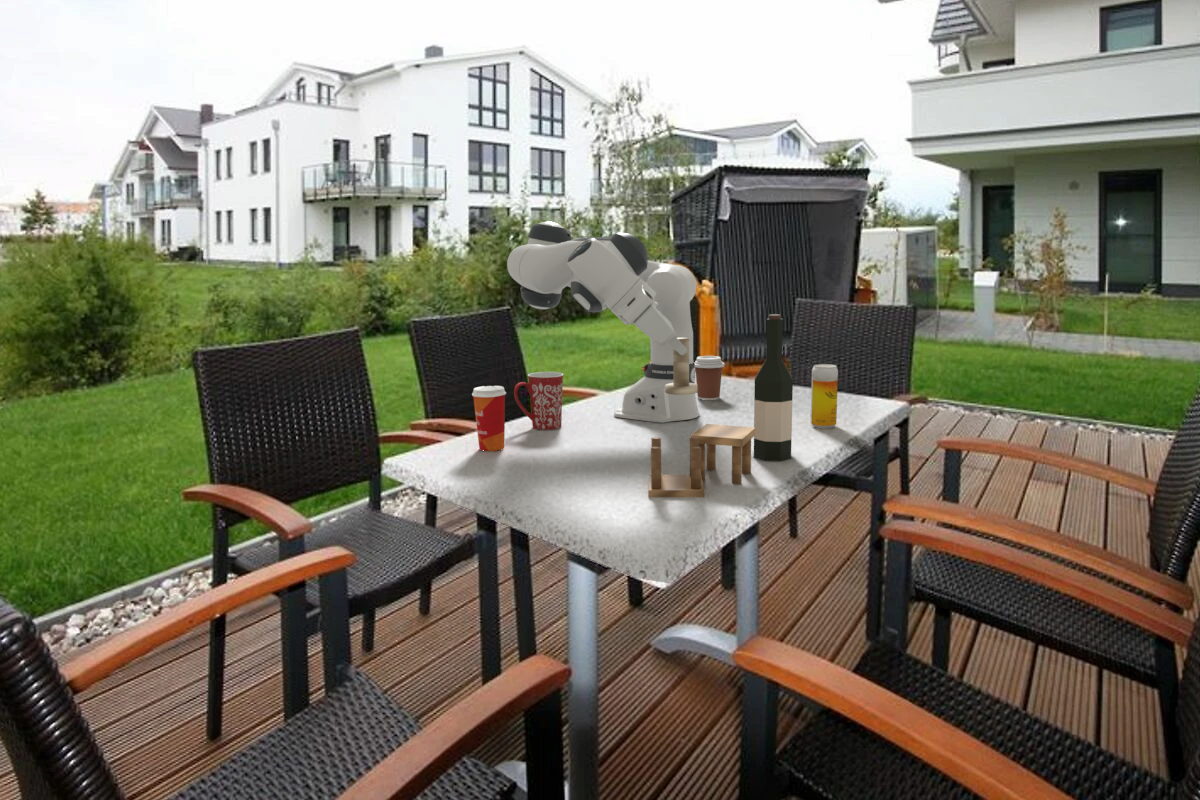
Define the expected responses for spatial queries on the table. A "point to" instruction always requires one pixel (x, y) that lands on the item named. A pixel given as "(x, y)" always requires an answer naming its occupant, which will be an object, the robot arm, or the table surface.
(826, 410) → the beer can
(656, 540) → the table surface
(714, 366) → the coffee cup
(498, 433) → the paper cup
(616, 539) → the table surface
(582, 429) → the table surface
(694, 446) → the upturned stool
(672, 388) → the ring stacker tower
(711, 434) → the stool
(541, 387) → the mug
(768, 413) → the wine bottle
